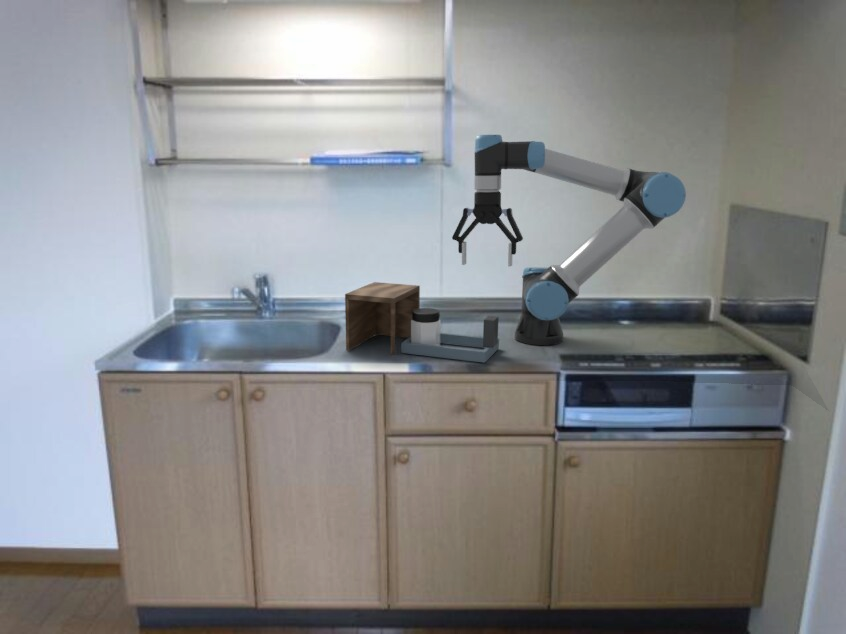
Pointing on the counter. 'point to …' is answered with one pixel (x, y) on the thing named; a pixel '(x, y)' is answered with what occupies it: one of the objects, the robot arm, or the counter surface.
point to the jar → (426, 326)
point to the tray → (487, 342)
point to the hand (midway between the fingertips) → (486, 265)
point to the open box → (380, 312)
